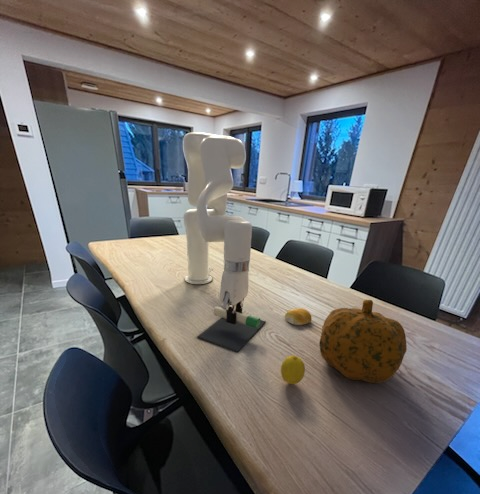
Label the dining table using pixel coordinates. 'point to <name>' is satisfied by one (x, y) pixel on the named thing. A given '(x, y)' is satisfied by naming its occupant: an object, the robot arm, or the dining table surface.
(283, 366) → the lemon
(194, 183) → the robot arm
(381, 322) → the decorative pumpkin
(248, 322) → the marker
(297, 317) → the bread roll
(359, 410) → the dining table surface
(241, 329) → the felt mat
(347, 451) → the dining table surface
